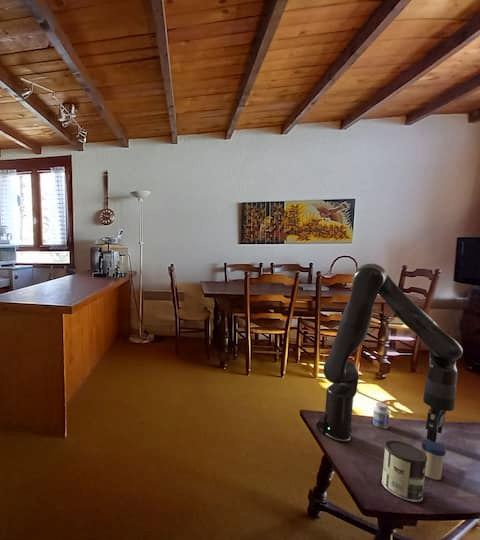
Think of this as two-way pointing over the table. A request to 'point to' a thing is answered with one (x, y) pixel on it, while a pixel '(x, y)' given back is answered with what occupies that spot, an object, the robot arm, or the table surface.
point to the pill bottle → (381, 415)
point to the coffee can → (404, 470)
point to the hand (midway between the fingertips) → (434, 436)
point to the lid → (433, 448)
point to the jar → (433, 465)
